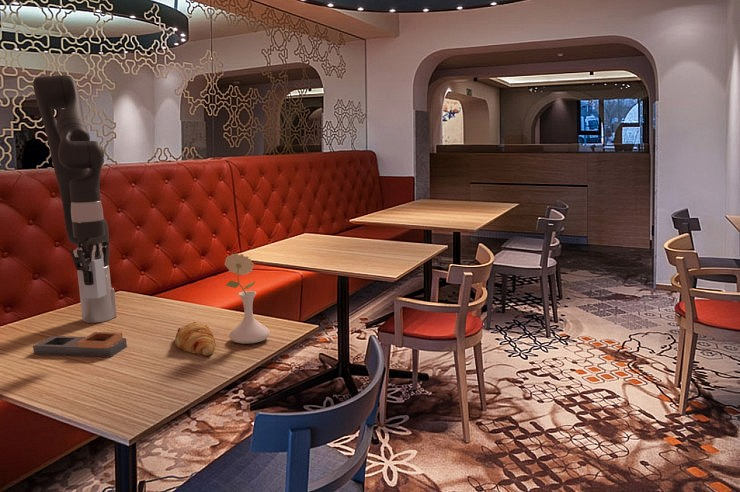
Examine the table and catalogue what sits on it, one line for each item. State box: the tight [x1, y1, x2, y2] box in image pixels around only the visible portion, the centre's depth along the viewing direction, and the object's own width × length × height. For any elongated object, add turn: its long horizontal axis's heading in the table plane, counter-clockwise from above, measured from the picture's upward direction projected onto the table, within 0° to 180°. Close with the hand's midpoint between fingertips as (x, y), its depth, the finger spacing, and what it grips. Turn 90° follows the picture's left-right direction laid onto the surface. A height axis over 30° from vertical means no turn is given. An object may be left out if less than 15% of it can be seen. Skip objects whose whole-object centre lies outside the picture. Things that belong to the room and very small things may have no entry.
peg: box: [80, 258, 107, 299], centre depth 156 cm, size 4×4×10 cm
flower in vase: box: [224, 252, 271, 345], centre depth 165 cm, size 13×11×25 cm
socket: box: [32, 331, 128, 358], centre depth 160 cm, size 22×8×4 cm, turn 83°
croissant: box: [174, 321, 217, 356], centre depth 162 cm, size 21×10×8 cm, turn 39°
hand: (94, 282), depth 156 cm, fingers closed on peg, 4 cm apart
